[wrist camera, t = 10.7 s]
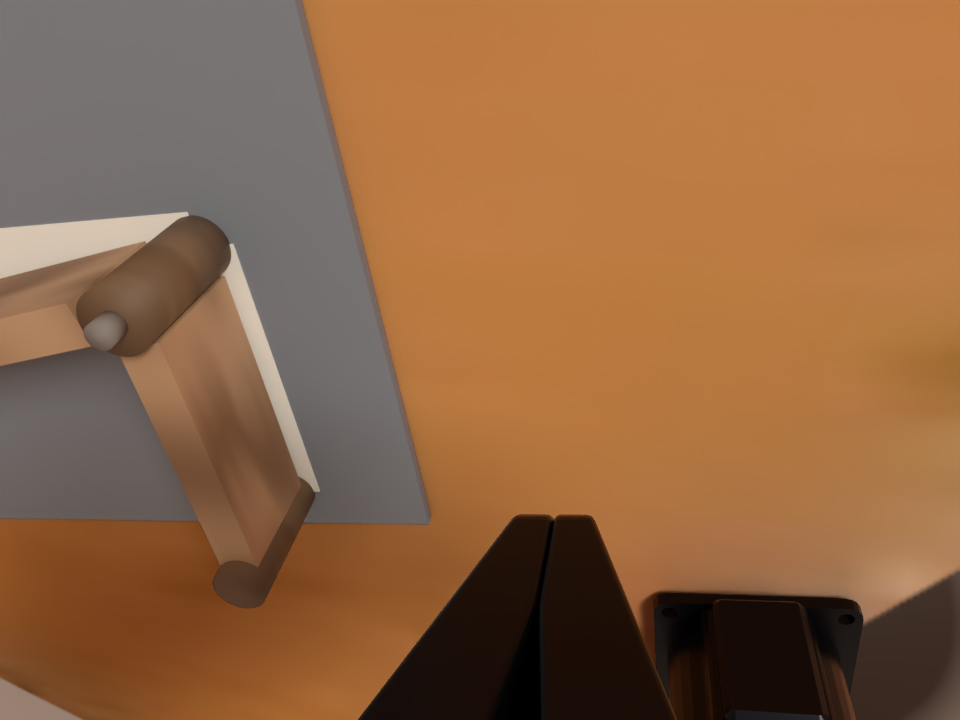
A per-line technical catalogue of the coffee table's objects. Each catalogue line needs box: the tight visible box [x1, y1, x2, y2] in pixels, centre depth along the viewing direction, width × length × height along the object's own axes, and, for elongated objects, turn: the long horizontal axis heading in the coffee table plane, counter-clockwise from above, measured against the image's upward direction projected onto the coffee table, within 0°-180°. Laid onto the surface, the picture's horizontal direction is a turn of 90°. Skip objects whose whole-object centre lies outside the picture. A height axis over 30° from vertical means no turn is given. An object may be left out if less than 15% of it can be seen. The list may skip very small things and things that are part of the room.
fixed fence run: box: [76, 215, 315, 608], centre depth 21 cm, size 11×2×5 cm, turn 9°
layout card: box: [0, 0, 431, 525], centre depth 21 cm, size 24×19×1 cm
